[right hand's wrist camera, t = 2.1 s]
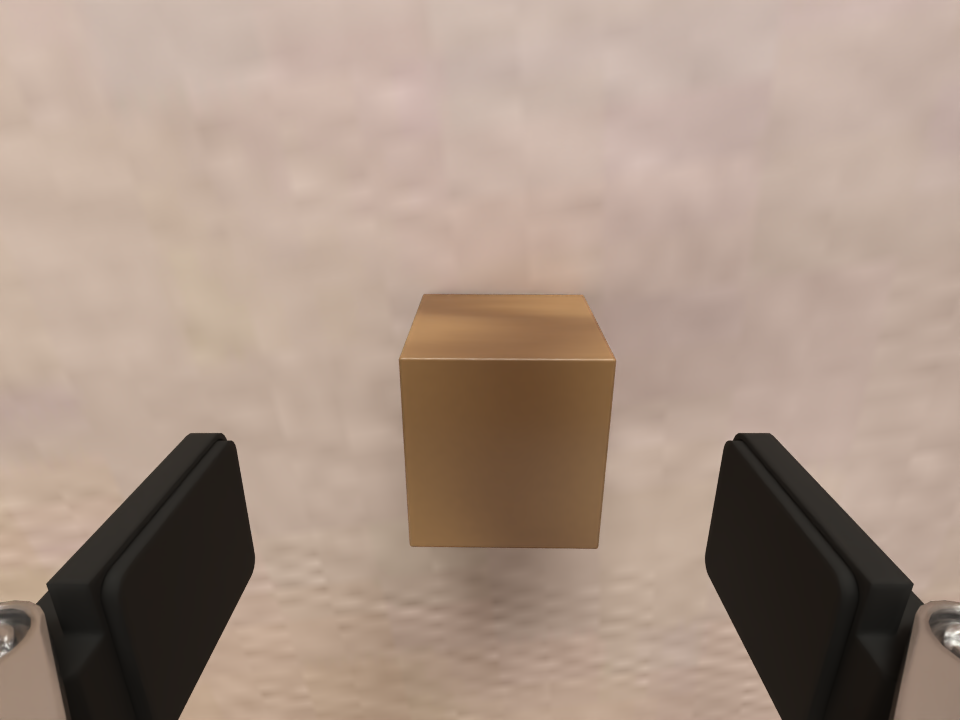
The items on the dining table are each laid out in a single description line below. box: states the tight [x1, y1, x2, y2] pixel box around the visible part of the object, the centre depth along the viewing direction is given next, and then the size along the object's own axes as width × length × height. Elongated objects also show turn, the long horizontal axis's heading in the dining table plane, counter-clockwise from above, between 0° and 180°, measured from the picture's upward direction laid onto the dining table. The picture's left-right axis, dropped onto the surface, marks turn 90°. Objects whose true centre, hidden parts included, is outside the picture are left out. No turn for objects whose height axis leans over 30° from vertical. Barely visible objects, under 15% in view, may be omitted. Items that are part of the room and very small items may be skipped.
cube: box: [399, 294, 616, 549], centre depth 14 cm, size 4×4×4 cm
